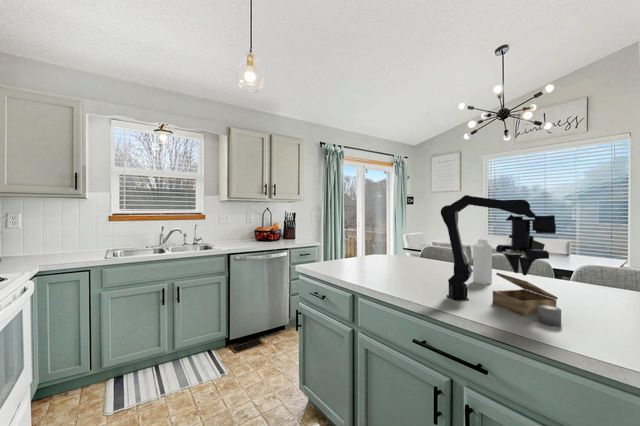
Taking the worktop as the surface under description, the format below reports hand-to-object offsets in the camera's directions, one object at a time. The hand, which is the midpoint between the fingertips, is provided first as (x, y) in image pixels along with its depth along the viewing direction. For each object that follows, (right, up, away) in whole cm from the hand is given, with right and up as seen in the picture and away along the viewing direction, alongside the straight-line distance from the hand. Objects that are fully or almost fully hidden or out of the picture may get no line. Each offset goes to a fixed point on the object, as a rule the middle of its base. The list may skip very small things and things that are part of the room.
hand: (520, 274), depth 111 cm
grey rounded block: (0, -13, -14) cm, 19 cm away
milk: (+7, -13, +38) cm, 41 cm away
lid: (+2, -5, 0) cm, 5 cm away
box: (+1, -13, 0) cm, 13 cm away
